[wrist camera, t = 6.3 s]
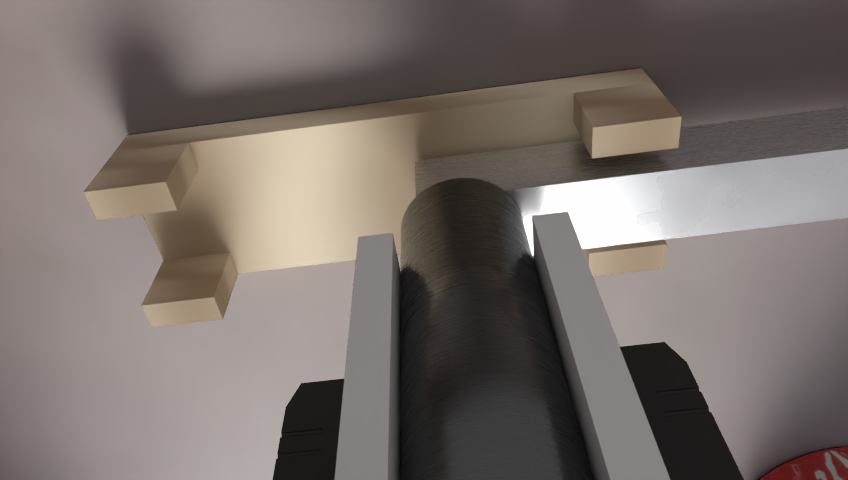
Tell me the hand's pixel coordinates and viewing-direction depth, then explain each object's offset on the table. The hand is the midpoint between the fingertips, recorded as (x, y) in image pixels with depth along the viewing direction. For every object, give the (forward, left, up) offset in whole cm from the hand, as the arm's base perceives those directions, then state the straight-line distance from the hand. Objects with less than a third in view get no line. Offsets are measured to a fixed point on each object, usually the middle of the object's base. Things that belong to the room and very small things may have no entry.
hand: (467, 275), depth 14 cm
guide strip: (-2, 0, -5) cm, 5 cm away
